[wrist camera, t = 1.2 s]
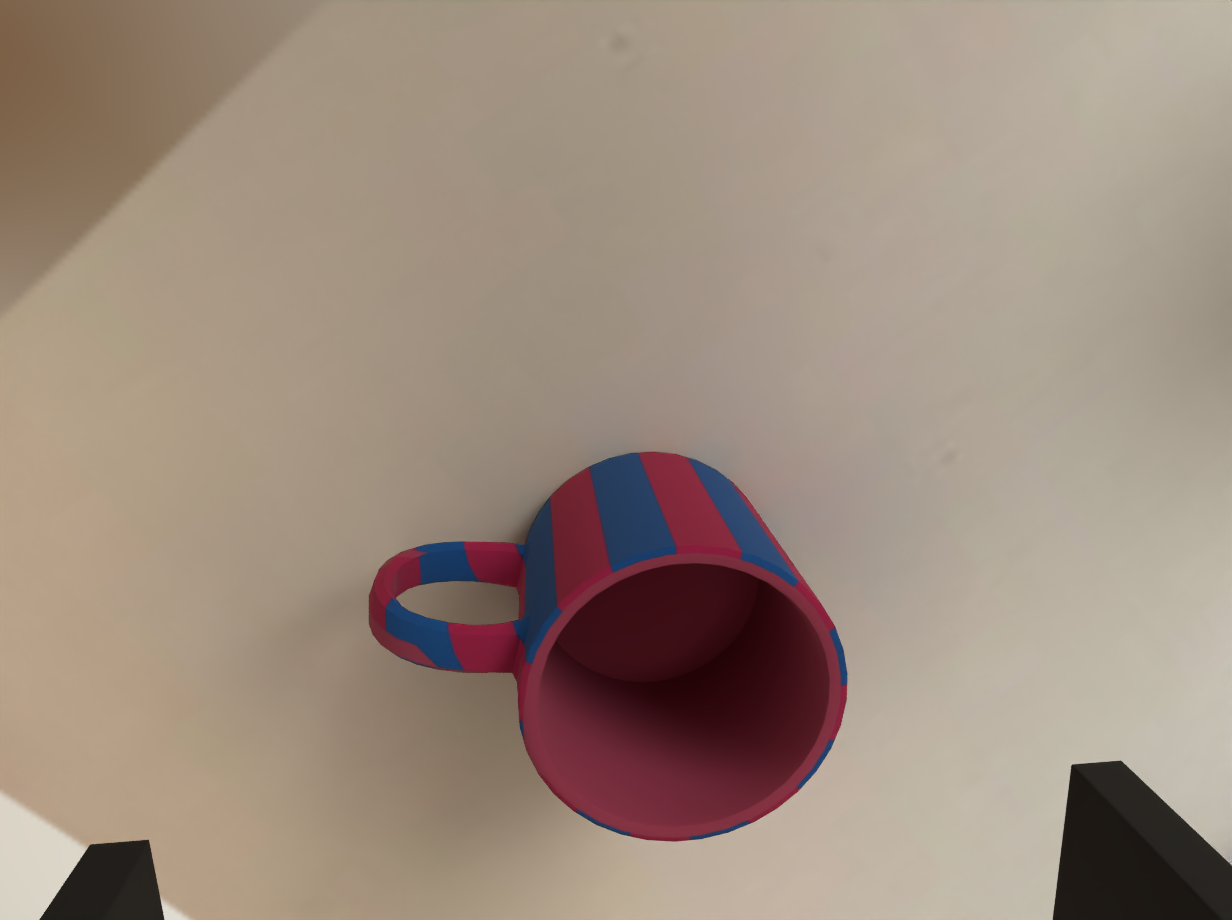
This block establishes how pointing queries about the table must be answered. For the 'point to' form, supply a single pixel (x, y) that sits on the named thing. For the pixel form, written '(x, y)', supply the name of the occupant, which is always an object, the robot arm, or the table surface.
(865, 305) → the table surface
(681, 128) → the table surface
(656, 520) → the mug
